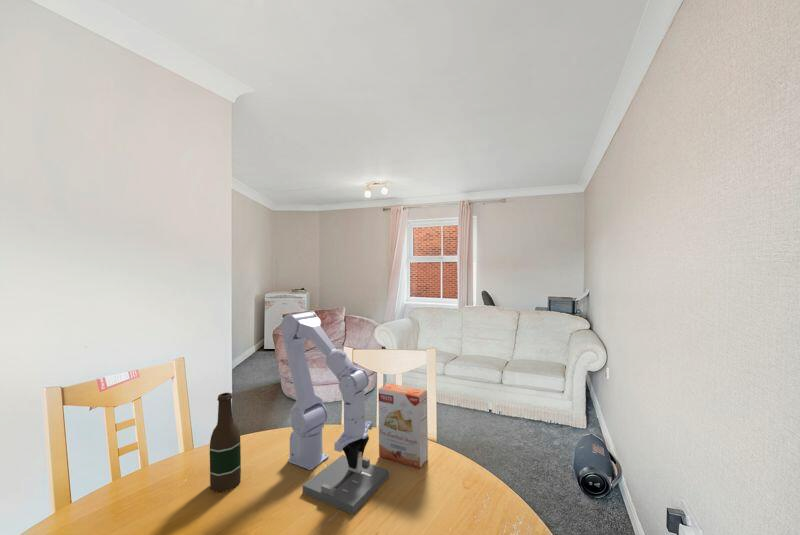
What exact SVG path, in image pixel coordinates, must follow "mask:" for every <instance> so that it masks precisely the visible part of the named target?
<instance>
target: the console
mask: <svg viewBox="0 0 800 535" xmlns="http://www.w3.org/2000/svg"><path fill="white" fill-rule="evenodd" d="M389 472H390V471H389V469H387V468H384V467H381V466H377V465H374V464H371V459H370V458H367V457H364V456H363V457H362V471H361V472H360V473H356V472H353V471H350V470H348V461H347V458H346V455H345V454H342V455H340V456H339V457H338V458H337V459H335V460H334V461H333V462H331V463H330V464H329V465H327V466H326V467H325V468H324V469H322V470H321V471H320V472H318V473H317V474H315V475H314V476H313V477H311V478H310V479H309V480H307V481H306V482H305V483H303V484H302V494H303V495H306V496H309V497H311V498H313V499H315V500H318V501H319V502H323V503H325V504H327V505H330V506H331V507H334V508H336V509H339V510H342V511H343V512H346V513H348V514H350V515H354V514H355V513H357V511H358V510H359V509H360V508H361V507H362V506H363V505H364V504H365V502H367V501H368V500H369V499H370V497H372V496H373V495H374V494H375V492H376V491H377V490H378V489H379V488H381V486H382V485H383V484H384V483H385V482H386V481H387V479H389V478H390V477H389V475H390V473H389Z"/></svg>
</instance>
